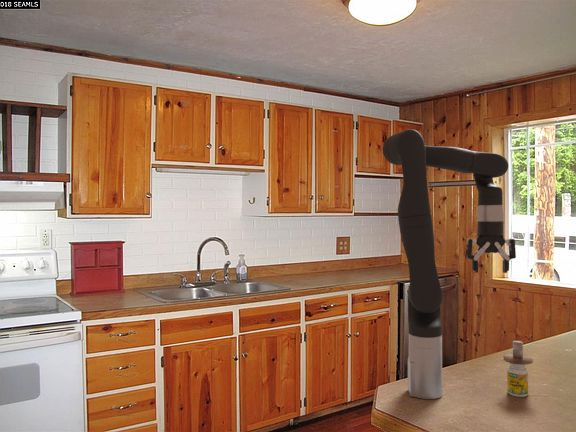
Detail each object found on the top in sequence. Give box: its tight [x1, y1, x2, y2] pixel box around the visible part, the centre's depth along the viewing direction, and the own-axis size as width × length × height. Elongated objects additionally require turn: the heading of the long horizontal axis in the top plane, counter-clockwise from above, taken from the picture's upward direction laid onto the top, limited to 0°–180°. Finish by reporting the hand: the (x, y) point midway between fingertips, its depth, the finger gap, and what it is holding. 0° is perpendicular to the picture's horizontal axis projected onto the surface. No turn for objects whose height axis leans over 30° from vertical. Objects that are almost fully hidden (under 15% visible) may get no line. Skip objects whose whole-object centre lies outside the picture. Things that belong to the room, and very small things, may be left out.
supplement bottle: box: [506, 363, 529, 398], centre depth 144 cm, size 5×5×10 cm
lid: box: [502, 340, 534, 366], centre depth 144 cm, size 8×8×5 cm
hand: (490, 272), depth 156 cm, fingers open, 8 cm apart
